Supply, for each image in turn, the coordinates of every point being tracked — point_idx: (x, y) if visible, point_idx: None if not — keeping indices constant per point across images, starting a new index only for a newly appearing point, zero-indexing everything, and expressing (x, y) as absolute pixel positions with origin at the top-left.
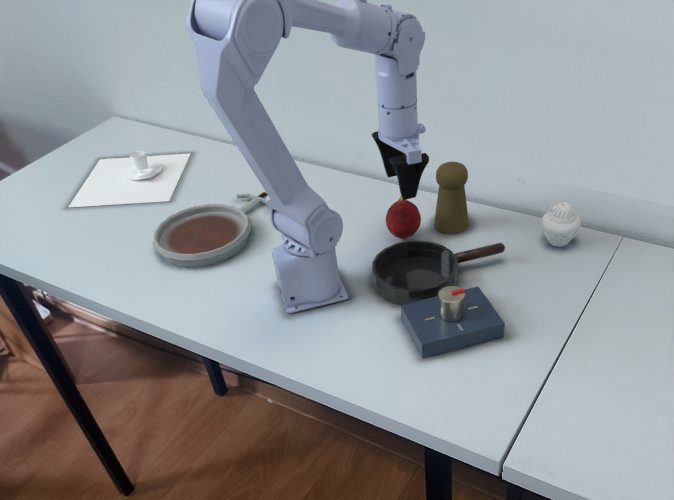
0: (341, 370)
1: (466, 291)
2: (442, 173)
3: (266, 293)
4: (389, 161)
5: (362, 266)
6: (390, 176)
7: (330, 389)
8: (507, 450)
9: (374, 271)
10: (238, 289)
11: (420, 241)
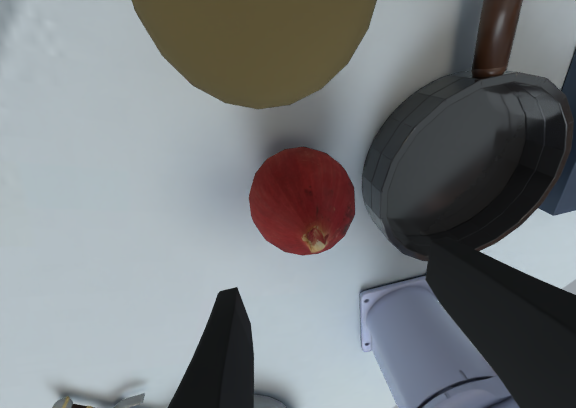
0: (555, 271)
1: None
2: (326, 78)
3: (372, 354)
4: (246, 397)
5: (360, 254)
6: (248, 320)
7: (572, 280)
8: None
9: None
10: (351, 378)
11: (397, 160)
